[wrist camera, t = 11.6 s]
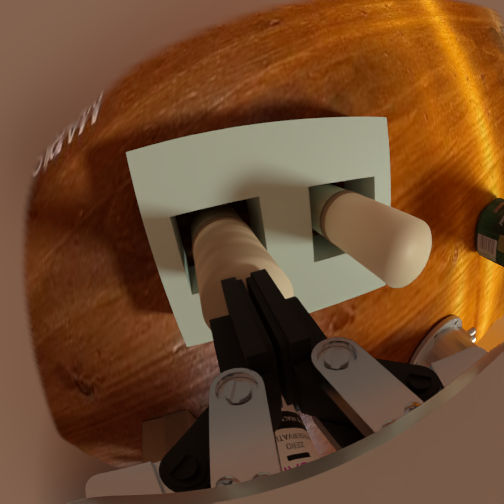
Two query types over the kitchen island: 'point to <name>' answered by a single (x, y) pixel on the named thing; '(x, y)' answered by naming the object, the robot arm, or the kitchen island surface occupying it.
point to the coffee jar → (491, 232)
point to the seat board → (284, 208)
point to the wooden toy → (164, 434)
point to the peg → (227, 257)
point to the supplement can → (294, 440)
